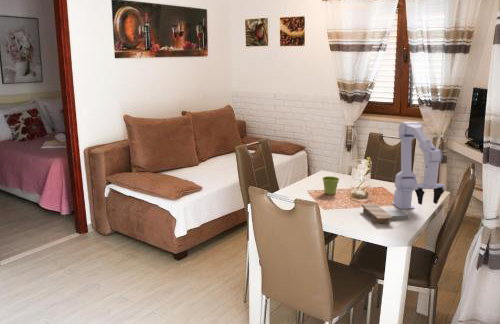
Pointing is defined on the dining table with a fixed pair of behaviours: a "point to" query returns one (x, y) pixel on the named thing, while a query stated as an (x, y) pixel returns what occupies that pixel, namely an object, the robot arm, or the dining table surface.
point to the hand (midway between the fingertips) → (427, 203)
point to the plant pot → (330, 184)
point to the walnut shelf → (376, 213)
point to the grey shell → (397, 214)
